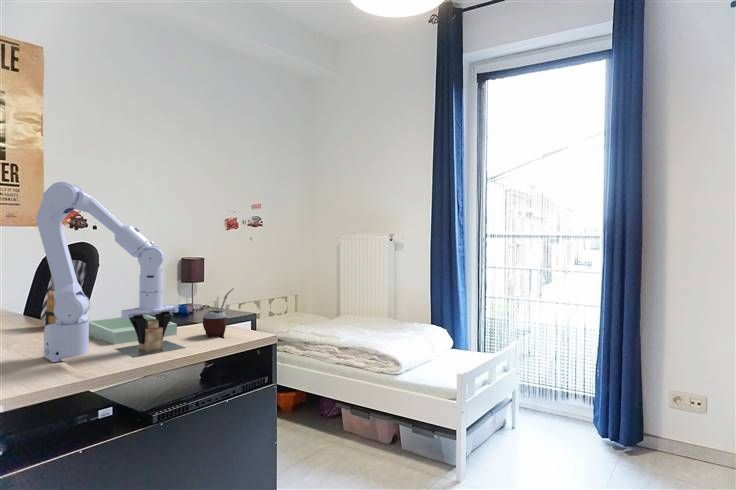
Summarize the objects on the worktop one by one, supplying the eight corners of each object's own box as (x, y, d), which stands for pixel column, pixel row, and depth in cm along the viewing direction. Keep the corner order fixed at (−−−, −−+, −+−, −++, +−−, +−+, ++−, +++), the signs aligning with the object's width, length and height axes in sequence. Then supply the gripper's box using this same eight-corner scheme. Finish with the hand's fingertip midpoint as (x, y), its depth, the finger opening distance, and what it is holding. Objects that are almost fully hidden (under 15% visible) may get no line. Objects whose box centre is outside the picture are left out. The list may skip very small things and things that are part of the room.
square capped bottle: (146, 351, 126) (146, 322, 125) (138, 348, 129) (139, 320, 128) (162, 348, 129) (162, 320, 129) (155, 345, 132) (155, 318, 132)
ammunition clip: (45, 326, 157) (45, 290, 156) (51, 325, 158) (51, 289, 158) (62, 330, 151) (62, 292, 151) (69, 329, 153) (69, 292, 153)
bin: (114, 347, 132) (114, 332, 132) (85, 334, 147) (85, 321, 147) (176, 336, 146) (176, 323, 146) (144, 326, 160) (144, 314, 160)
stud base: (133, 360, 120) (133, 341, 119) (114, 351, 127) (114, 333, 127) (186, 350, 130) (186, 332, 130) (165, 343, 138) (165, 326, 138)
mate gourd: (198, 339, 143) (198, 289, 143) (212, 334, 151) (213, 286, 150) (220, 341, 141) (220, 291, 141) (233, 335, 149) (234, 288, 148)
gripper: (129, 295, 120) (129, 349, 121) (184, 290, 131) (183, 339, 132) (118, 292, 125) (117, 344, 125) (171, 288, 136) (171, 335, 136)
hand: (150, 341), depth 129 cm, fingers closed on square capped bottle, 4 cm apart
